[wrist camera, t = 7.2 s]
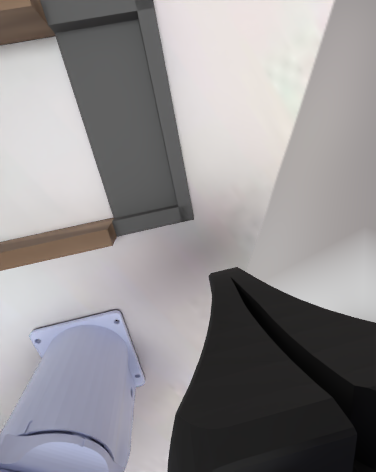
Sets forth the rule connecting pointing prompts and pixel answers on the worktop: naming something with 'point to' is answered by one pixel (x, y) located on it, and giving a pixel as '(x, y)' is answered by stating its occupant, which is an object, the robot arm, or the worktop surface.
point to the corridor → (63, 240)
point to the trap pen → (124, 107)
